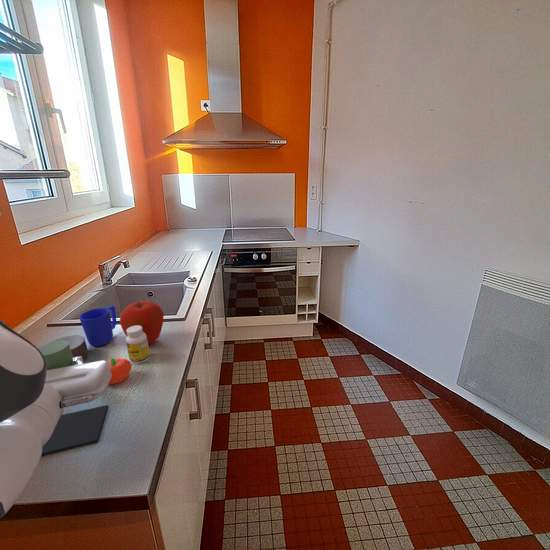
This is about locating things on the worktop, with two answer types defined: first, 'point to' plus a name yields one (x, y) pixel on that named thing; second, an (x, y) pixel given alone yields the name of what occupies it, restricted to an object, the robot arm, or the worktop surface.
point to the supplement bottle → (137, 345)
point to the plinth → (76, 345)
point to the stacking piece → (56, 354)
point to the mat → (76, 430)
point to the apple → (143, 318)
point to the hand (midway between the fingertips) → (59, 363)
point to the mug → (99, 325)
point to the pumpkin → (119, 369)
